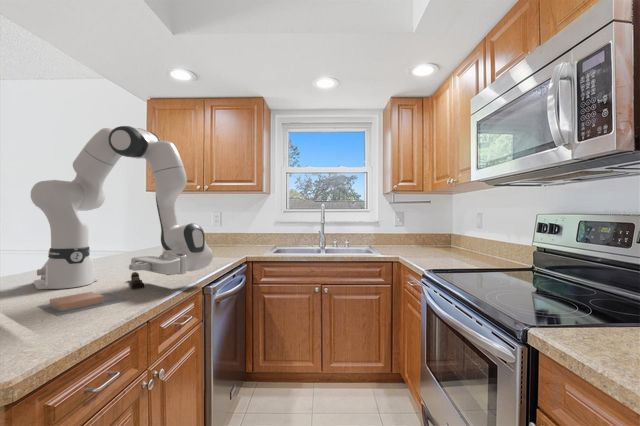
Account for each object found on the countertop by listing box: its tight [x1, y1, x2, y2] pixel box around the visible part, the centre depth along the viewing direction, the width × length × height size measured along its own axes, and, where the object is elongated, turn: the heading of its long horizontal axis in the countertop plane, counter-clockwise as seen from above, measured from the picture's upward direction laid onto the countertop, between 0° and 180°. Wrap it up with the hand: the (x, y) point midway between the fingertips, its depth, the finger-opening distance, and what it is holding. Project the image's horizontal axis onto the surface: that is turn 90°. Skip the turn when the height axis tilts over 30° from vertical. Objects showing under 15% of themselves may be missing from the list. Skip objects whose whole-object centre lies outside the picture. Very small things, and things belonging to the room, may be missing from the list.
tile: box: [49, 291, 103, 312], centre depth 90 cm, size 8×2×10 cm
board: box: [37, 292, 130, 317], centre depth 92 cm, size 14×18×2 cm
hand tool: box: [130, 271, 145, 290], centre depth 118 cm, size 19×4×5 cm, turn 31°
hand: (131, 267), depth 101 cm, fingers closed
